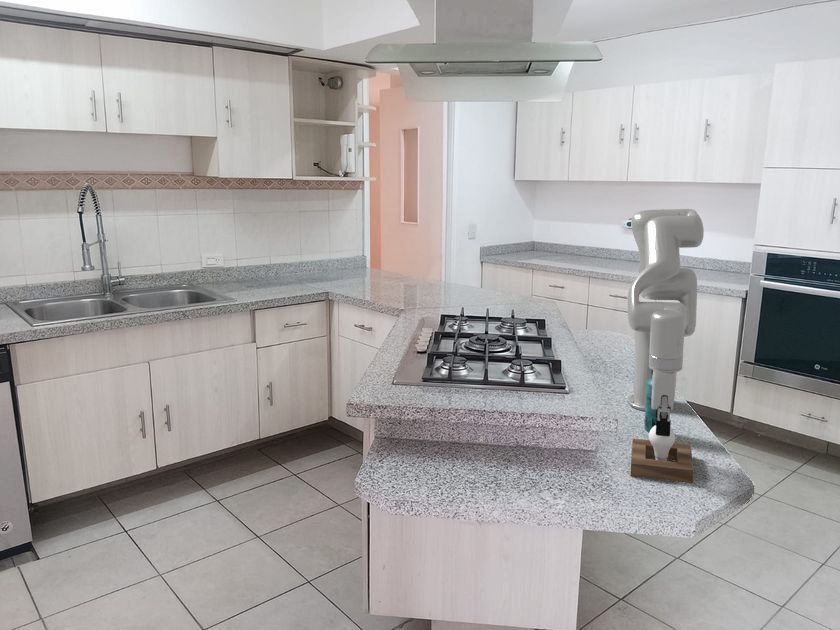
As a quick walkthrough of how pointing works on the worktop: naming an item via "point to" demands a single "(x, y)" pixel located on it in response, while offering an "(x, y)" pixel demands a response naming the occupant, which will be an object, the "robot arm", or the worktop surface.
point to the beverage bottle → (649, 408)
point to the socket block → (662, 462)
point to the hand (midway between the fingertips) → (662, 426)
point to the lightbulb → (661, 443)
